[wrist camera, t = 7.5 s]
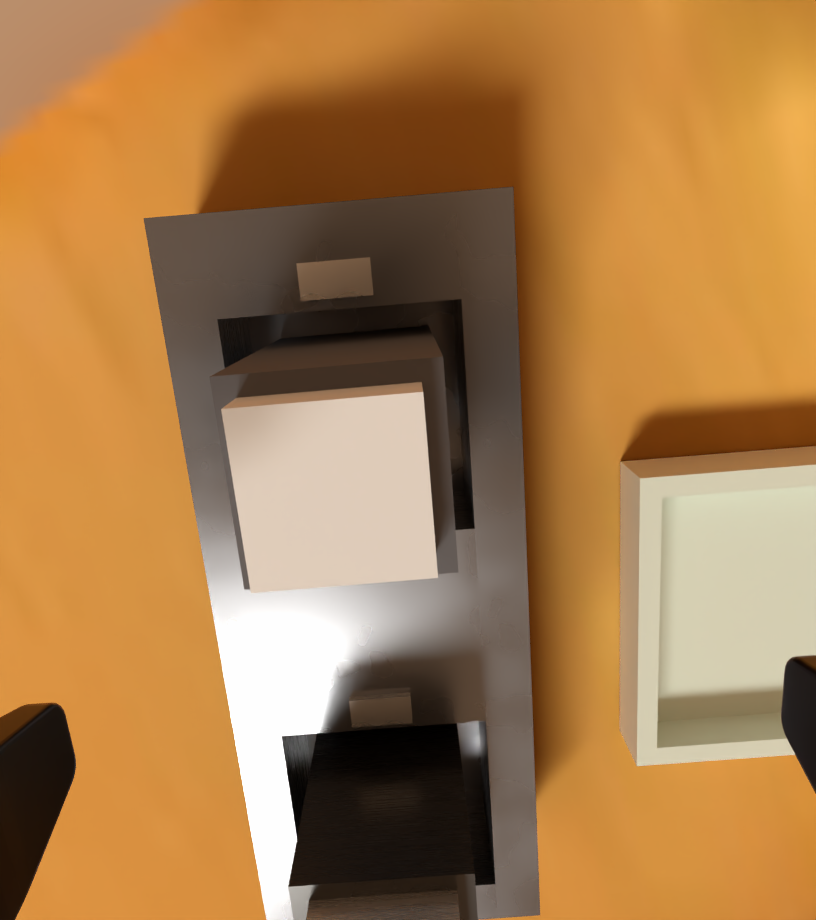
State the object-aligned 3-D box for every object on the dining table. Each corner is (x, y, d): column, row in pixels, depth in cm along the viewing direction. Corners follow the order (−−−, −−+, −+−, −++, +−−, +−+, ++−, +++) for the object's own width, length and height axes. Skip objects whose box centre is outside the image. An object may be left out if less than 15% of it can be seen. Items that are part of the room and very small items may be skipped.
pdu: (492, 203, 18) (568, 144, 10) (520, 821, 23) (583, 1121, 15) (192, 228, 18) (15, 191, 10) (288, 838, 23) (226, 1144, 15)
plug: (428, 325, 18) (446, 364, 11) (439, 467, 19) (462, 597, 12) (280, 338, 18) (191, 385, 11) (299, 479, 19) (231, 615, 12)
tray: (937, 436, 20) (986, 451, 18) (901, 709, 22) (941, 743, 20) (620, 461, 20) (639, 478, 18) (619, 729, 22) (636, 766, 21)
